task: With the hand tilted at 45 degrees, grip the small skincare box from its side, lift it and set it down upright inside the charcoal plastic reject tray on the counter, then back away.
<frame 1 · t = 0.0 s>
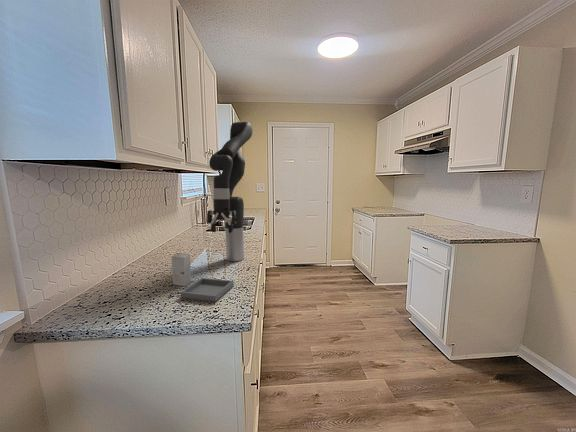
hand: (222, 232, 124), 17 cm above the countertop, fingers open, 8 cm apart
reject tray: (208, 292, 99), on the countertop
skincare box: (182, 283, 108), on the countertop
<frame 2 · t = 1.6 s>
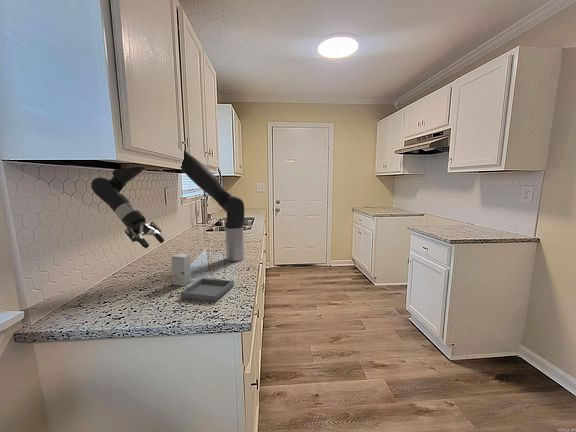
hand: (155, 244, 108), 16 cm above the countertop, fingers open, 8 cm apart
nothing on the countertop moved.
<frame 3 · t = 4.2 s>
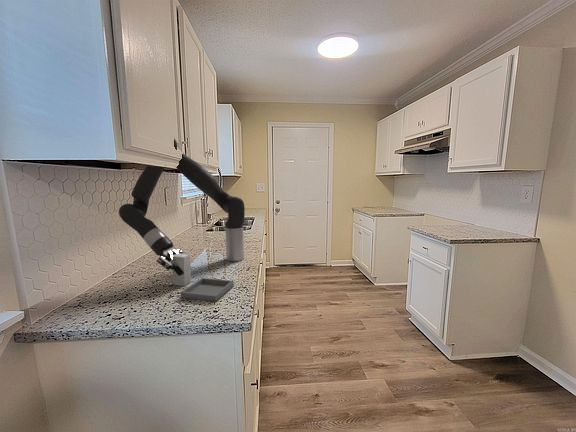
hand: (185, 271, 107), 5 cm above the countertop, fingers closed on skincare box, 4 cm apart
skincare box: (182, 283, 108), on the countertop, touching gripper
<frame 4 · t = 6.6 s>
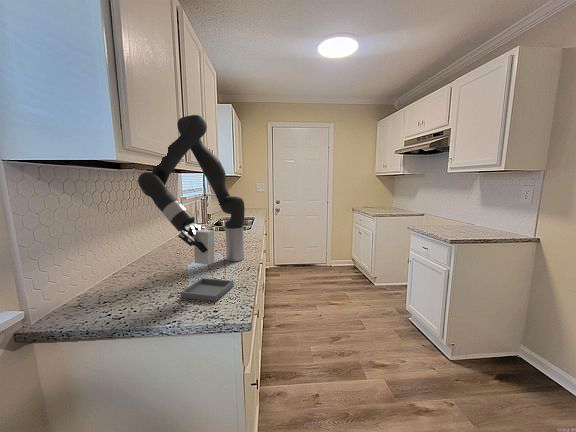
hand: (209, 249, 97), 17 cm above the countertop, fingers closed on skincare box, 4 cm apart
skincare box: (205, 262, 98), point 12 cm above the countertop, touching gripper
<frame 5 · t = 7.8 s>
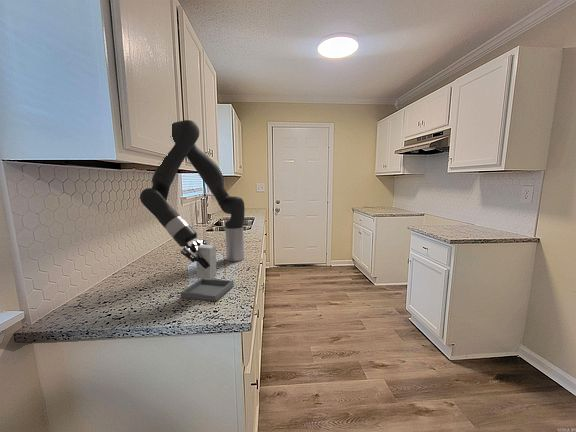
hand: (211, 264, 97), 11 cm above the countertop, fingers closed on skincare box, 4 cm apart
skincare box: (207, 277, 99), point 6 cm above the countertop, touching gripper
when the fingers open (7 cm above the countertop, at t = 8.9 s): skincare box drops 1 cm, resting on reject tray.
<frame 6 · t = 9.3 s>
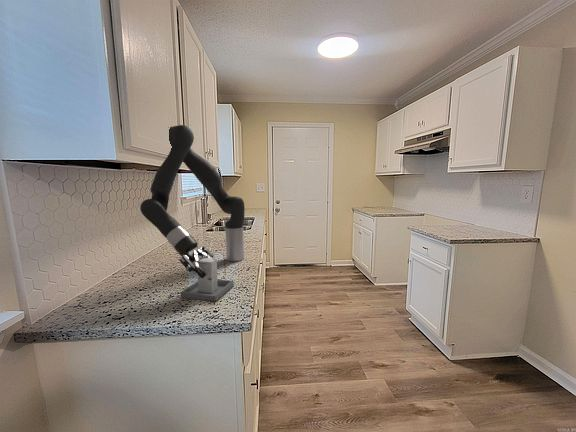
hand: (210, 272, 98), 8 cm above the countertop, fingers open, 8 cm apart
skincare box: (208, 290, 100), resting on reject tray
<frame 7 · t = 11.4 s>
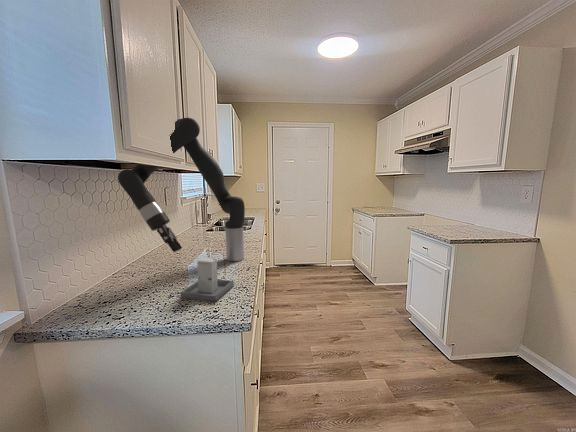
hand: (178, 250, 105), 14 cm above the countertop, fingers open, 8 cm apart
nothing on the countertop moved.
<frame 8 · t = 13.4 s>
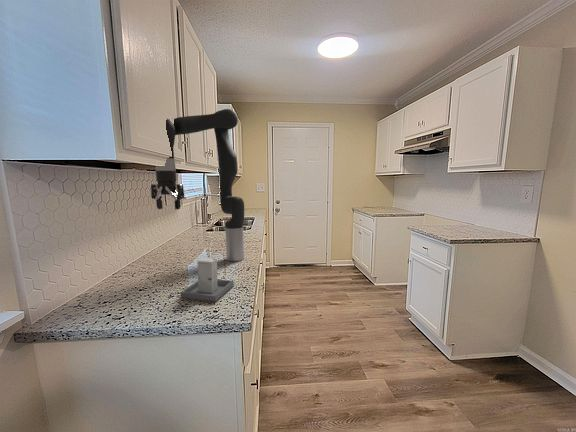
hand: (168, 209, 110), 30 cm above the countertop, fingers open, 8 cm apart
nothing on the countertop moved.
at the end: skincare box inside the target area on the reject tray (0.4 cm from its centre), point 0.4 cm above the reject tray's base; skincare box tilted 0°; the gripper is holding nothing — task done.
